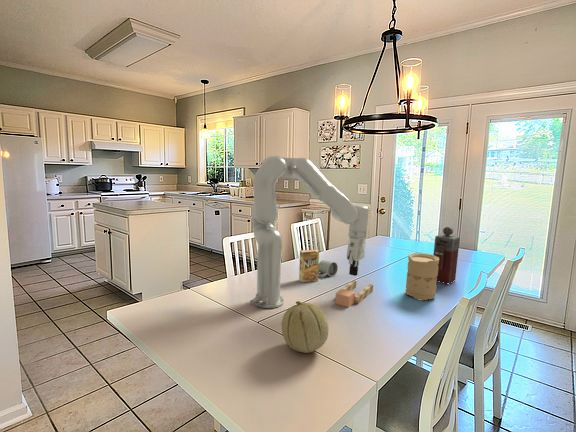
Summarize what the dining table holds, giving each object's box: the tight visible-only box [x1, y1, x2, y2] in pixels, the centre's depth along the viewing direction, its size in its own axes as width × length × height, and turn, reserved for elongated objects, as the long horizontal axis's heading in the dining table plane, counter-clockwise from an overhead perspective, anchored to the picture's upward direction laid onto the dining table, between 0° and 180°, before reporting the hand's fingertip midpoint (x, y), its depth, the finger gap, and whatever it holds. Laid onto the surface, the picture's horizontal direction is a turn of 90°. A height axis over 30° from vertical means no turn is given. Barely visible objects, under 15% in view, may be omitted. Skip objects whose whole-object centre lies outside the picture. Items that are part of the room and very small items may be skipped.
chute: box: [336, 280, 374, 305], centre depth 146 cm, size 18×10×3 cm, turn 146°
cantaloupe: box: [281, 300, 329, 354], centre depth 101 cm, size 15×15×15 cm
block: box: [335, 288, 356, 308], centre depth 137 cm, size 6×6×4 cm
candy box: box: [298, 249, 320, 283], centre depth 162 cm, size 9×4×15 cm, turn 107°
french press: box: [433, 226, 461, 285], centre depth 165 cm, size 9×11×28 cm
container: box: [405, 252, 439, 301], centre depth 146 cm, size 13×13×18 cm
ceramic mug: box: [318, 259, 339, 278], centre depth 171 cm, size 11×8×8 cm
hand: (353, 274), depth 144 cm, fingers closed
